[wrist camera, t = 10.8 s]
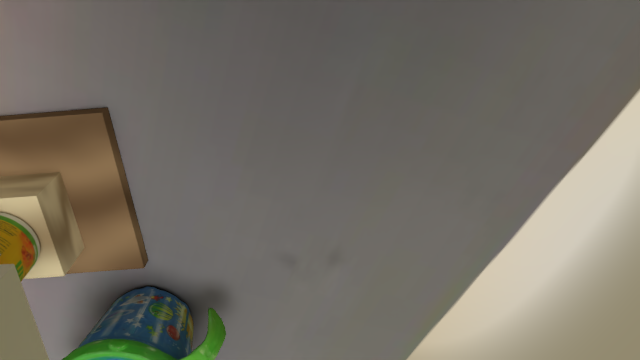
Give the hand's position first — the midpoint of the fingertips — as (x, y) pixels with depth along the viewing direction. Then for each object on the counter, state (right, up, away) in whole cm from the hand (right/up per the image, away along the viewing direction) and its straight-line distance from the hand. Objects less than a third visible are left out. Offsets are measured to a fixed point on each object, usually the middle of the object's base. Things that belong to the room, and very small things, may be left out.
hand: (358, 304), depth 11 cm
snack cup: (-16, -10, +39) cm, 44 cm away
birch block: (-24, 0, +33) cm, 41 cm away
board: (-24, +1, +33) cm, 41 cm away
